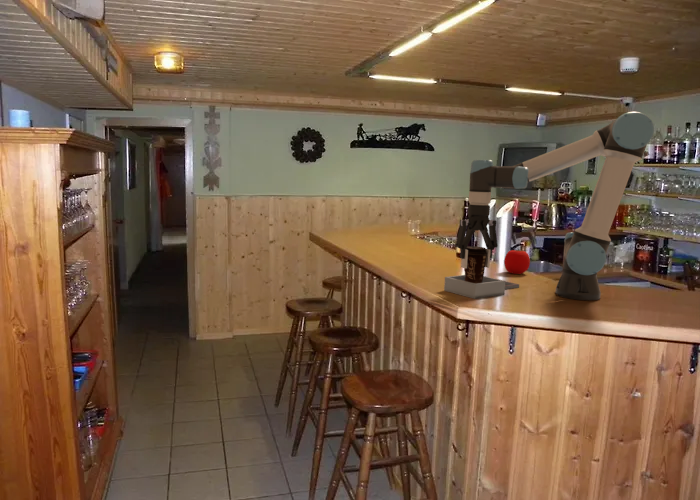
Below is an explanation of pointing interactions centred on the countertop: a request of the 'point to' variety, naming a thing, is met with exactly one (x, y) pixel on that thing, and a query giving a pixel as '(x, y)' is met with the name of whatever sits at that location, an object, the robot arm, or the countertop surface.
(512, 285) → the collar
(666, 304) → the countertop surface
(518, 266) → the tomato
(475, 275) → the coffee cup
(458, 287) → the bin
